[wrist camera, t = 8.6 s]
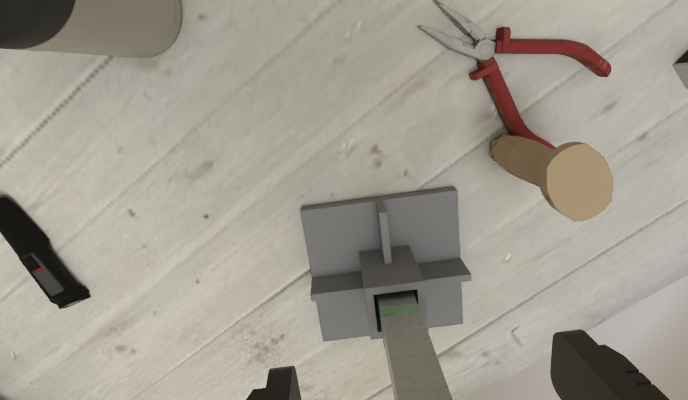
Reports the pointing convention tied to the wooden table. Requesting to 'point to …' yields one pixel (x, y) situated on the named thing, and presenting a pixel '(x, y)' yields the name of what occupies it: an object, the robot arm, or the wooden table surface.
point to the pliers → (503, 44)
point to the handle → (559, 173)
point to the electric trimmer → (38, 257)
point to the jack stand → (384, 259)
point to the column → (410, 349)
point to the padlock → (682, 68)
